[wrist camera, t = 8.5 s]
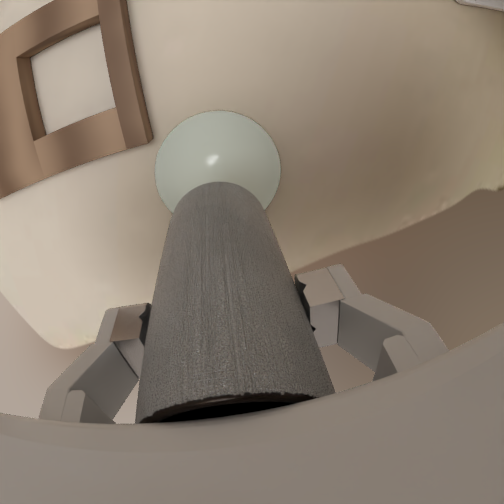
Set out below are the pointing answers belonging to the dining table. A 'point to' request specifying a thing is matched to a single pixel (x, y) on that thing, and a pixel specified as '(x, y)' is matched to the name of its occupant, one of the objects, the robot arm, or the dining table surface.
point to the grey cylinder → (225, 317)
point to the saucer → (217, 157)
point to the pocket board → (84, 131)
